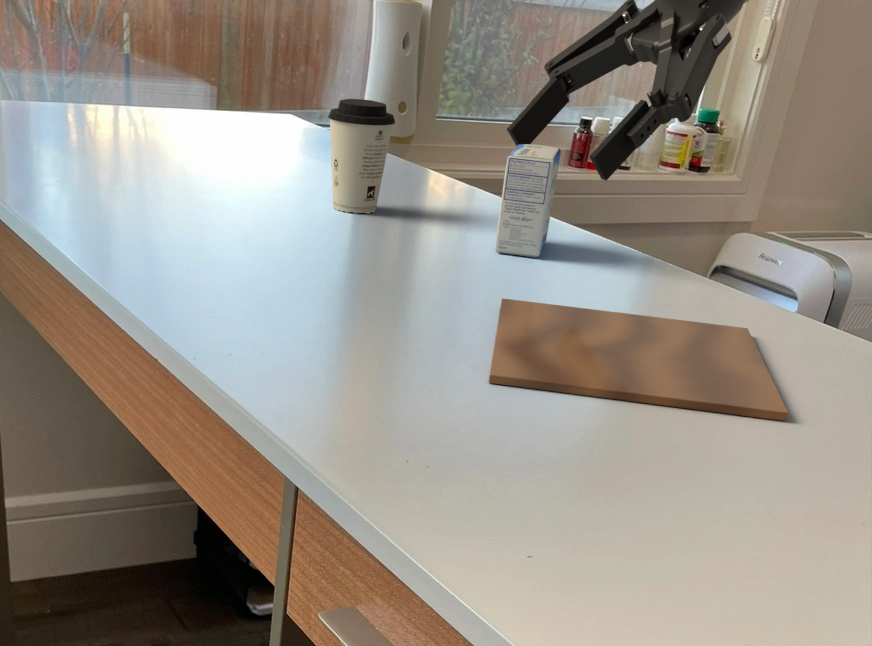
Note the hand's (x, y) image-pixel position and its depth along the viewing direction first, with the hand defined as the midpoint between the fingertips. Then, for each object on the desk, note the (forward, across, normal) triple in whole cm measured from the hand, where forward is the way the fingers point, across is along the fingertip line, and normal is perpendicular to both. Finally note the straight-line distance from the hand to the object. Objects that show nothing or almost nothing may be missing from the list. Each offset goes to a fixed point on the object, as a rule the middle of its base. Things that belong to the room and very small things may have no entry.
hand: (554, 154), depth 106 cm
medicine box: (+8, 0, -4) cm, 9 cm away
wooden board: (+15, -32, +4) cm, 35 cm away
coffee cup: (+14, +18, +2) cm, 23 cm away
